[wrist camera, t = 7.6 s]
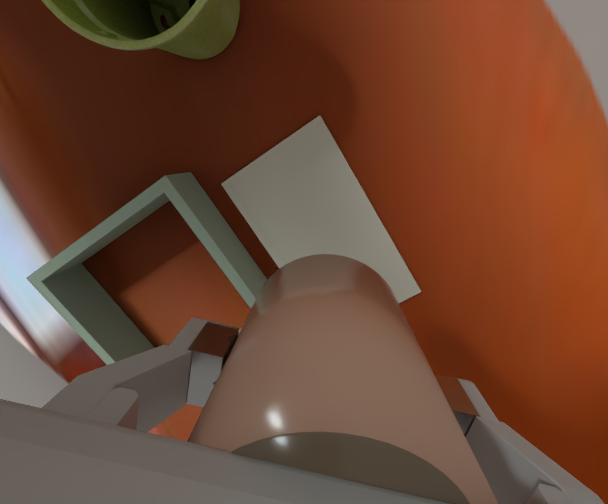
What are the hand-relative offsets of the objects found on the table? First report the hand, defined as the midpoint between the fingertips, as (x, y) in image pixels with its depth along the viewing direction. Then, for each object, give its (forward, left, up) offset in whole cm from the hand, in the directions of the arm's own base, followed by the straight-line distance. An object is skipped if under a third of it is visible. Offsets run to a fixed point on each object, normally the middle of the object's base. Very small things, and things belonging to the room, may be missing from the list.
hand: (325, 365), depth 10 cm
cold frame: (-3, -13, -16) cm, 20 cm away
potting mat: (0, 0, -16) cm, 16 cm away
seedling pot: (0, 0, -3) cm, 3 cm away
